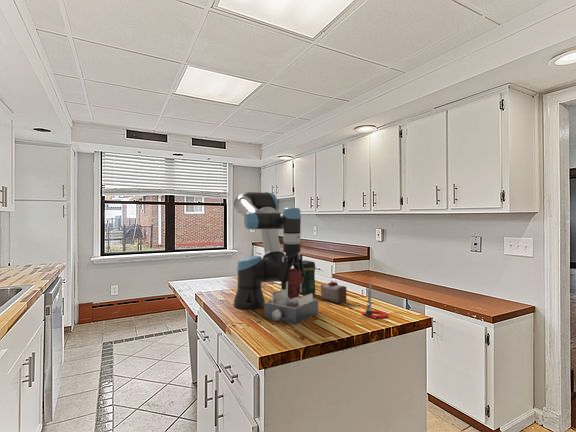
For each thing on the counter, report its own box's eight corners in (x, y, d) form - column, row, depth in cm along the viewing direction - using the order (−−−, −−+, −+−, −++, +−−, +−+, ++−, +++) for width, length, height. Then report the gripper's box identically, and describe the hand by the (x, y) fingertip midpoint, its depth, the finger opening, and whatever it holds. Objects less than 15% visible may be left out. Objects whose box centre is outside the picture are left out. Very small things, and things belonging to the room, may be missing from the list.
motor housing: (260, 319, 137) (260, 296, 137) (288, 308, 154) (288, 287, 154) (291, 326, 128) (291, 302, 128) (318, 313, 145) (318, 292, 145)
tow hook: (376, 312, 149) (360, 314, 144) (377, 281, 149) (361, 283, 144) (392, 317, 141) (375, 320, 136) (393, 285, 141) (376, 286, 136)
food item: (318, 299, 170) (318, 280, 170) (328, 297, 176) (328, 278, 176) (339, 304, 160) (339, 284, 160) (348, 302, 166) (348, 282, 166)
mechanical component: (305, 295, 146) (301, 300, 136) (283, 293, 148) (278, 299, 138) (305, 267, 146) (301, 271, 136) (283, 266, 148) (278, 270, 138)
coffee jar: (317, 294, 182) (317, 261, 182) (306, 296, 177) (306, 262, 177) (307, 291, 189) (307, 259, 190) (296, 293, 185) (296, 260, 185)
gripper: (284, 245, 131) (283, 301, 131) (312, 242, 149) (312, 290, 149) (269, 244, 135) (269, 298, 135) (298, 241, 154) (298, 288, 154)
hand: (291, 294), depth 142 cm, fingers closed on mechanical component, 10 cm apart
